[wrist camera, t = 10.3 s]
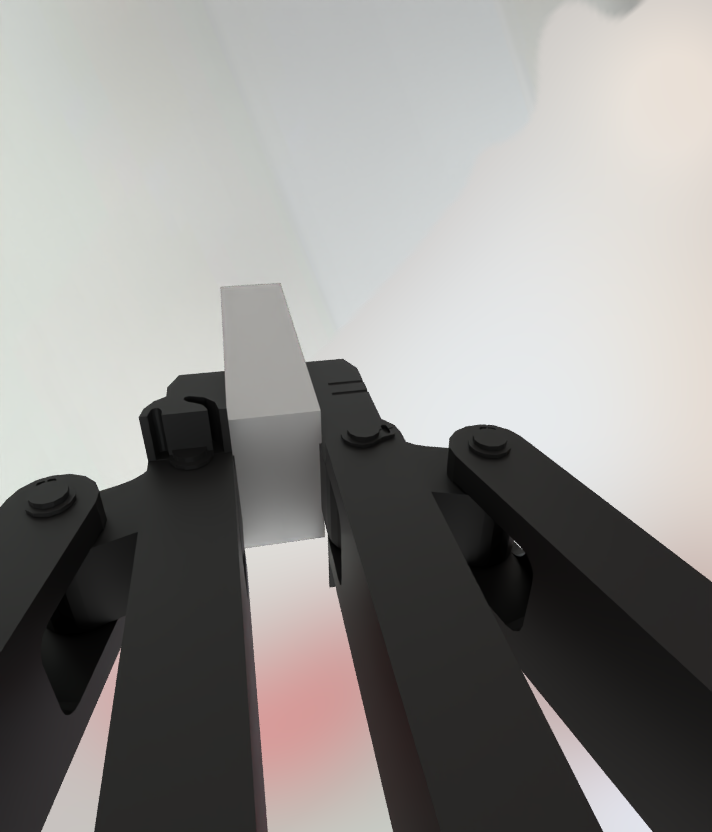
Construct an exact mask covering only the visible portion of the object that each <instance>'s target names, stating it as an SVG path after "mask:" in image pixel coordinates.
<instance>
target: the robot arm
mask: <svg viewBox="0 0 712 832" xmlns="http://www.w3.org/2000/svg"><path fill="white" fill-rule="evenodd" d="M221 307H222V327H223V347H224V368H225V371H221V372H210V373H199V374H187V375H179V376H178V377H177V378H176V379H175V380H174V381H173V382H172V383H171V384H170V385H169V386H168V387H167V395H166V397H164V398H161V399H159V400H156V401H154V402H153V403H151V404H150V405H148V406H147V407H146V408H144V409H143V411H142V413H141V414H140V416H139V421H140V425H141V430H142V435H143V439H144V444H145V449H146V453H147V458H148V467H147V471H146V472H145V473H144V474H142V475H140V476H139V477H137V478H135V479H133V480H131V481H129V482H126V483H123V484H121V485H118V486H115V487H112V488H108V489H105V490H102V491H99V489H98V487H97V485H96V482H94V481H93V480H91V479H89V478H88V477H86V476H81V475H74V474H65V475H54V476H50V477H46V478H42V479H39V480H36V481H34V482H32V483H30V484H28V485H26V486H24V487H22V488H20V489H19V490H17V491H16V492H15V493H14V494H13V495H12V496H10V497H9V498H8V499H7V500H6V501H5V502H4V503H3V505H2V506H1V507H0V832H41V830H42V828H43V826H44V823H45V821H46V819H47V816H48V814H49V812H50V809H51V807H52V805H53V802H54V800H55V798H56V796H57V793H58V791H59V789H60V786H61V784H62V782H63V779H64V777H65V775H66V773H67V770H68V768H69V766H70V763H71V761H72V759H73V756H74V754H75V752H76V749H77V747H78V745H79V743H80V740H81V738H82V736H83V733H84V731H85V729H86V727H87V724H88V722H89V720H90V717H91V715H92V713H93V710H94V708H95V706H96V704H97V701H98V699H99V697H100V694H101V692H102V689H103V687H104V685H105V683H106V680H107V678H108V676H109V674H110V671H111V669H112V666H113V664H114V662H115V659H116V657H117V655H118V652H119V651H120V648H121V653H120V659H119V666H118V673H117V680H116V687H115V693H114V700H113V708H112V714H111V721H110V728H109V735H108V742H107V749H106V756H105V763H104V769H103V776H102V783H101V790H100V796H99V803H98V810H97V817H96V824H95V831H94V832H268V830H267V817H266V804H265V792H264V778H263V765H262V753H261V740H260V727H259V714H258V702H257V689H256V676H255V663H254V650H253V638H252V625H251V612H250V599H249V586H248V574H247V564H246V556H245V548H251V547H257V546H264V545H272V544H279V543H286V542H293V541H300V540H307V539H314V538H321V537H325V525H326V529H327V533H328V551H329V552H328V555H329V586H330V587H335V586H336V590H337V595H338V599H339V603H340V608H341V612H342V616H343V620H344V625H345V629H346V633H347V637H348V641H349V645H350V650H351V654H352V658H353V663H354V667H355V671H356V676H357V680H358V684H359V688H360V692H361V697H362V701H363V705H364V710H365V714H366V718H367V722H368V727H369V731H370V735H371V739H372V744H373V747H374V752H375V757H376V761H377V765H378V769H379V774H380V777H381V782H382V786H383V790H384V795H385V799H386V803H387V808H388V812H389V816H390V820H391V825H392V829H393V832H603V831H602V829H601V826H600V824H599V823H598V821H597V819H596V817H595V815H594V813H593V811H592V809H591V807H590V805H589V803H588V801H587V799H586V797H585V795H584V793H583V791H582V789H581V787H580V785H579V783H578V781H577V779H576V777H575V775H574V773H573V771H572V769H571V767H570V765H569V763H568V761H567V759H566V757H565V756H564V753H563V752H562V749H561V748H560V746H559V744H558V742H557V740H556V738H555V736H554V734H553V732H552V730H551V728H550V726H549V724H548V722H547V720H546V718H545V716H544V714H543V712H542V710H541V708H540V706H539V704H538V702H537V700H536V698H535V696H534V694H533V692H532V690H531V688H530V686H529V684H528V682H527V680H526V679H525V676H524V674H525V675H526V676H527V678H528V679H529V680H530V681H531V682H532V684H533V685H534V686H535V687H536V689H537V690H538V691H539V692H540V694H541V695H542V696H543V697H544V698H545V700H546V701H547V702H548V703H549V705H550V706H551V707H552V708H553V709H554V711H555V712H556V713H557V715H558V716H559V717H560V718H561V719H562V720H563V722H564V723H565V724H566V726H567V727H568V728H569V729H570V731H571V732H572V733H573V734H574V735H575V737H576V738H577V739H578V740H579V742H580V743H581V744H582V745H583V747H584V748H585V749H586V750H587V751H588V753H589V754H590V755H591V756H592V758H593V759H594V760H595V761H596V762H597V764H598V765H599V766H600V767H601V769H602V770H603V771H604V772H605V774H606V775H607V776H608V777H609V778H610V780H611V781H612V782H613V783H614V785H615V786H616V787H617V788H618V790H619V791H620V792H621V793H622V794H623V796H624V797H625V798H626V799H627V801H628V802H629V803H630V804H631V806H632V807H633V808H634V809H635V811H636V812H637V813H638V814H639V815H640V817H641V818H642V819H643V820H644V822H645V823H646V824H647V825H648V827H649V828H650V829H651V830H652V831H653V832H712V582H711V581H710V580H709V579H707V578H706V577H705V576H703V575H702V574H701V573H699V572H698V571H697V570H695V569H694V568H693V567H692V566H690V565H689V564H688V563H686V562H685V561H683V560H682V559H681V558H680V557H678V556H677V555H676V554H675V553H673V552H672V551H671V550H669V549H668V548H666V547H665V546H664V545H663V544H661V543H660V542H659V541H657V540H656V539H655V538H654V537H652V536H651V535H650V534H648V533H647V532H646V531H644V530H643V529H642V528H640V527H639V526H638V525H636V524H635V523H634V522H633V521H631V520H630V519H628V518H627V517H626V516H625V515H623V514H622V513H621V512H619V511H618V510H617V509H615V508H614V507H613V506H612V505H610V504H609V503H608V502H606V501H605V500H604V499H602V498H601V497H600V496H598V495H597V494H596V493H594V492H593V491H592V490H590V489H589V488H588V487H587V486H585V485H584V484H583V483H581V482H580V481H579V480H577V479H576V478H575V477H573V476H572V475H571V474H569V473H568V472H567V471H566V470H564V469H563V468H561V467H560V466H559V465H558V464H556V463H555V462H554V461H552V460H551V459H550V458H549V457H547V456H546V455H544V454H543V453H542V452H541V451H539V450H538V449H537V448H535V447H534V446H533V445H532V444H530V443H529V442H527V441H526V440H525V439H523V438H522V437H521V436H519V435H517V434H516V433H514V432H512V431H510V430H508V429H504V428H501V427H497V426H494V425H474V426H467V427H464V428H462V429H459V430H457V431H455V432H454V434H453V435H452V436H451V437H450V439H449V448H441V447H429V446H421V445H414V444H411V443H408V442H406V441H405V440H404V438H403V435H402V434H401V432H400V431H399V430H398V429H397V428H396V426H395V425H393V424H391V423H389V422H387V421H385V420H382V419H381V418H380V415H379V413H378V411H377V409H376V407H375V405H374V403H373V401H372V399H371V397H370V394H369V392H367V388H366V386H365V384H364V382H363V381H362V378H361V376H360V373H359V371H358V369H357V368H356V367H354V366H353V365H351V364H350V363H348V362H347V361H345V360H344V359H336V360H324V361H313V362H305V359H304V356H303V353H302V350H301V347H300V344H299V340H298V337H297V334H296V331H295V328H294V325H293V321H292V318H291V315H290V312H289V309H288V306H287V302H286V299H285V296H284V293H283V290H282V287H281V283H273V284H258V285H242V286H227V287H221ZM324 521H325V525H324ZM514 541H515V542H516V543H517V544H519V546H521V548H522V549H521V548H520V547H519V546H518V545H517V544H516V543H515V542H514ZM522 671H523V672H522ZM523 673H524V674H523Z"/></svg>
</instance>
